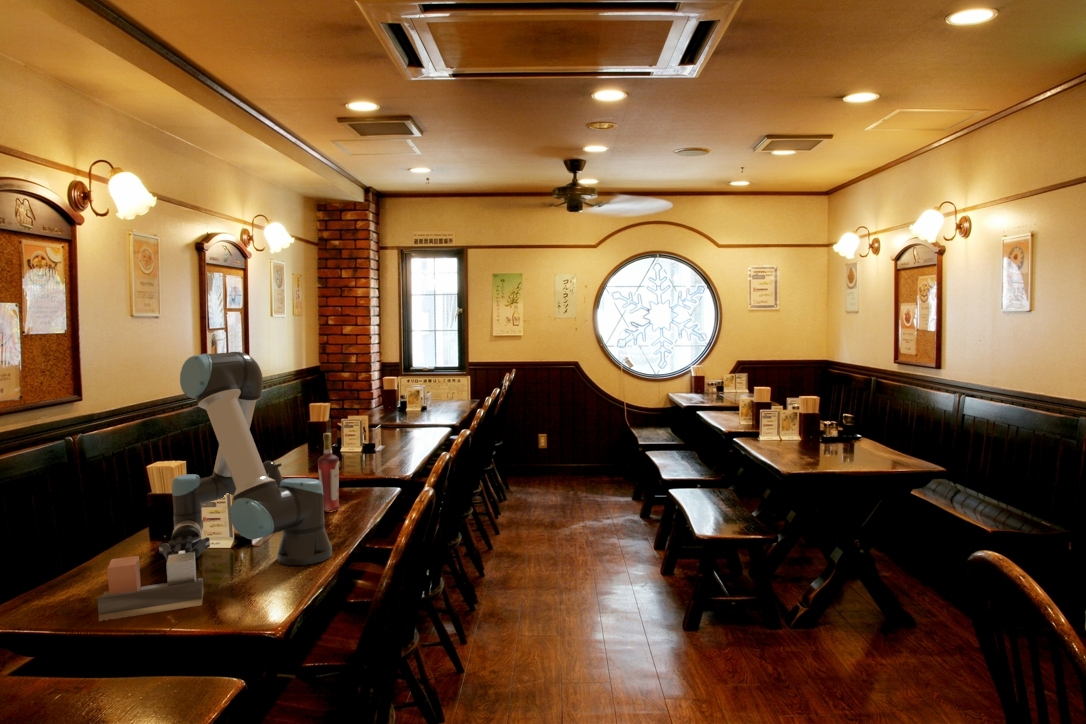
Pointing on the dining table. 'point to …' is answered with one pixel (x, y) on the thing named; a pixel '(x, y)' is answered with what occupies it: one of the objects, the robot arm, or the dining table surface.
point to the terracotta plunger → (124, 575)
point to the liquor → (329, 475)
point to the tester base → (150, 600)
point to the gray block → (181, 568)
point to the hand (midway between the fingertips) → (180, 563)
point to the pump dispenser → (273, 471)
